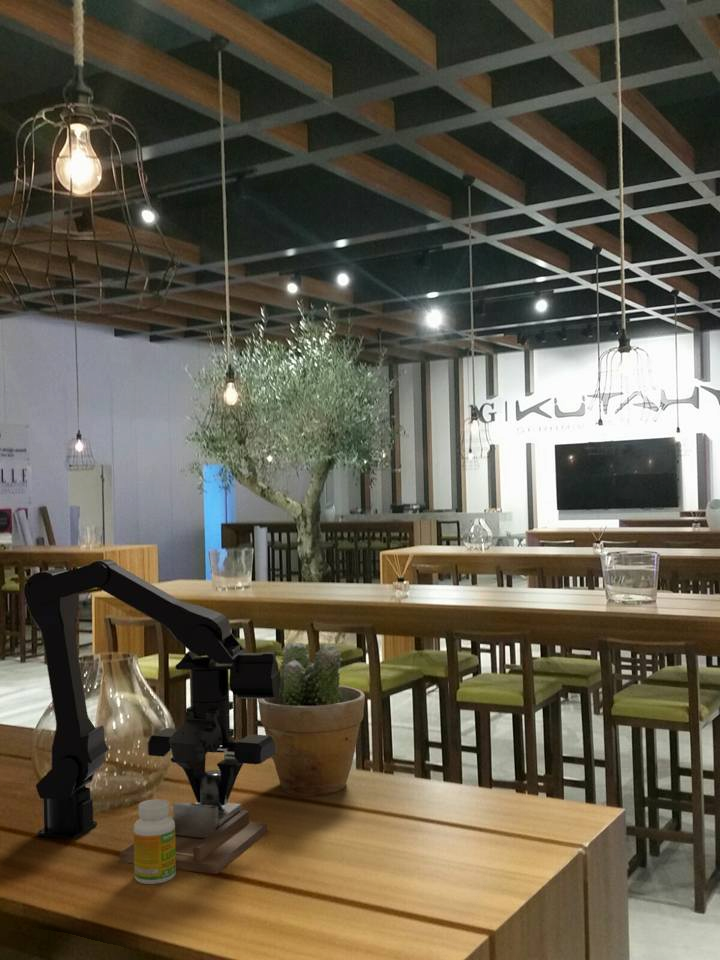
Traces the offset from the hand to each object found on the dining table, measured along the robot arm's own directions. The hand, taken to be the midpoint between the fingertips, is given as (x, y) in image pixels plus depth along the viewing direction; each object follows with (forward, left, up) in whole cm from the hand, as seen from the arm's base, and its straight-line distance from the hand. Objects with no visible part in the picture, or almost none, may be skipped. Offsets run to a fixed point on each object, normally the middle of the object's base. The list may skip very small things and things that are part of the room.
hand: (212, 803), depth 141 cm
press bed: (0, -5, -4) cm, 7 cm away
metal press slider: (0, -2, -3) cm, 3 cm away
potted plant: (+6, +25, -5) cm, 26 cm away
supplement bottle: (0, -16, -5) cm, 17 cm away
